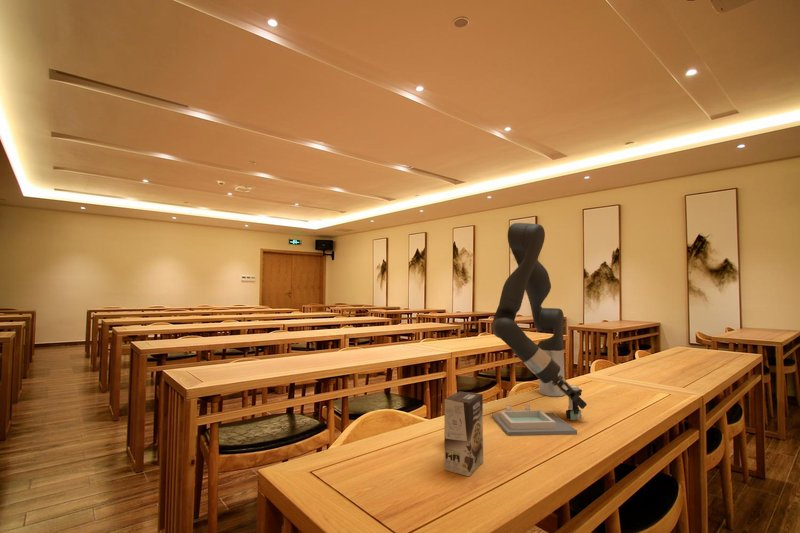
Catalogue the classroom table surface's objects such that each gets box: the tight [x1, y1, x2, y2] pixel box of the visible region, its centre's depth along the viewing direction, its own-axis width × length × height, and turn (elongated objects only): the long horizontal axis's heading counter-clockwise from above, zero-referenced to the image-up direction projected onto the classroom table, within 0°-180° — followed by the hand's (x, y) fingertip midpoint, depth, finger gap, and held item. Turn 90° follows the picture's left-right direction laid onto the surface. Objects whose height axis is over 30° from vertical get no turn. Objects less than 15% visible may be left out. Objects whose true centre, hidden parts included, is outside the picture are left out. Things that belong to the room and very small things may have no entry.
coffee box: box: [443, 390, 484, 477], centre depth 93 cm, size 9×6×16 cm
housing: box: [491, 404, 578, 437], centre depth 120 cm, size 16×20×4 cm
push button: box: [565, 384, 583, 421], centre depth 126 cm, size 7×5×10 cm
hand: (581, 403), depth 125 cm, fingers closed on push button, 5 cm apart
